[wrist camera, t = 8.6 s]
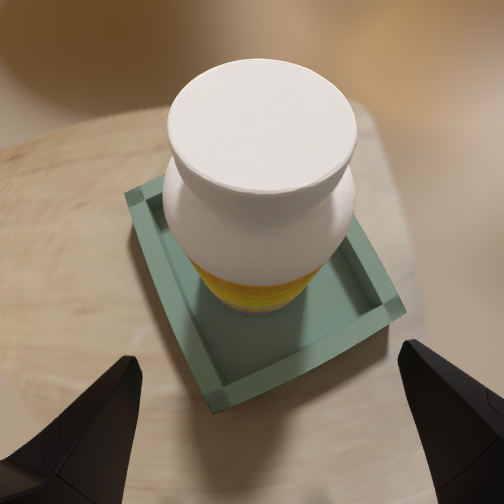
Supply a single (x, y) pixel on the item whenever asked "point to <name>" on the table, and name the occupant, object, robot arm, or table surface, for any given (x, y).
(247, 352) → the tub
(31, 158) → the table surface
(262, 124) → the supplement bottle
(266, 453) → the table surface
